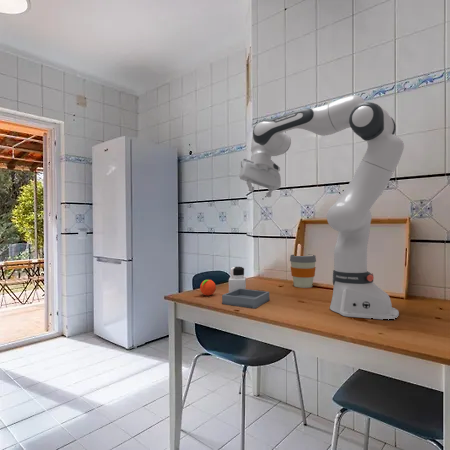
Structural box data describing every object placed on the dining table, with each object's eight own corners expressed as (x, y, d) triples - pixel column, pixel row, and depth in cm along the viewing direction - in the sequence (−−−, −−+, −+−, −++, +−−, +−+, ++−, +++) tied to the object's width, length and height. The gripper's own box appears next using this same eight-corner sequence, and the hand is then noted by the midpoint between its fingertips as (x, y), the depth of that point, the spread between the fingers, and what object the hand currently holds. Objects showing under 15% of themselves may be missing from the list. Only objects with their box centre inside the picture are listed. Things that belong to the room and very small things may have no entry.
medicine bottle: (245, 292, 148) (245, 265, 148) (245, 296, 141) (245, 268, 141) (230, 292, 149) (229, 265, 148) (228, 295, 141) (228, 268, 141)
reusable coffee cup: (320, 285, 161) (320, 255, 161) (308, 289, 152) (307, 257, 152) (298, 282, 170) (298, 253, 170) (285, 286, 161) (284, 255, 161)
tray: (269, 300, 133) (269, 291, 132) (254, 308, 121) (254, 299, 120) (239, 296, 140) (239, 288, 140) (222, 303, 128) (222, 295, 128)
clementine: (209, 298, 137) (209, 281, 137) (195, 296, 140) (195, 280, 140) (218, 294, 144) (218, 278, 144) (205, 293, 147) (205, 277, 147)
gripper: (245, 154, 135) (244, 185, 131) (282, 168, 145) (283, 197, 141) (237, 160, 140) (235, 190, 136) (273, 173, 150) (273, 201, 146)
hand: (260, 194), depth 139 cm, fingers open, 8 cm apart
